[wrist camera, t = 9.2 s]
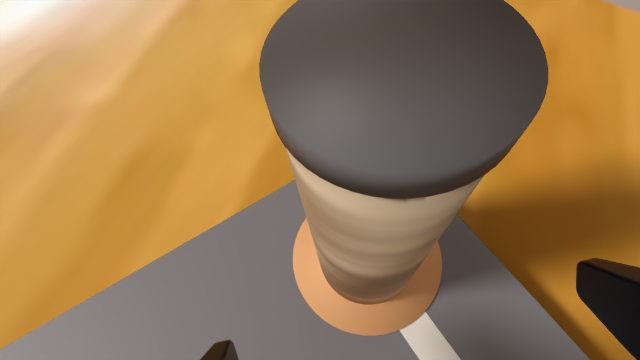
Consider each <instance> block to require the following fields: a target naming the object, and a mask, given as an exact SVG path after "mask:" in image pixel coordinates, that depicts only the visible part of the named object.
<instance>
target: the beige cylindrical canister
mask: <svg viewBox="0 0 640 360" xmlns="http://www.w3.org/2000/svg"><path fill="white" fill-rule="evenodd" d="M259 66H260V81H261V86H262V91H263V94H264V97H265V100H266V103H267V106H268V109H269V113H270V116H271V119H272V122H273V124H274V127H275V129H276V132H277V134H278V136H279V138H280V139H281V141H282V143H283V144H284V146H285V147H286V150H287V153H288V157H289V160H290V164H291V167H292V170H293V174H294V177H295V180H296V184H297V187H298V191H299V194H300V197H301V201H302V204H303V208H304V211H305V214H306V218H307V221H308V225H309V228H310V231H311V235H312V238H313V242H314V245H315V248H316V252H317V255H318V259H319V262H320V265H321V269H322V272H323V274H324V277H325V279H326V280H327V282H328V284H329V285H330V286H331V287H332V289H333V290H334V291H335V292H337V293H338V294H339V295H340V296H342V297H343V298H345V299H347V300H349V301H351V302H355V303H358V304H364V305H372V304H379V303H383V302H386V301H388V300H390V299H392V298H393V297H395V296H396V295H398V294H399V293H400V292H401V291H402V290H403V289H404V288H405V286H406V285H407V283H408V282H409V281H410V279H411V278H412V276H413V275H414V273H415V272H416V271H417V269H418V268H419V266H420V265H421V264H422V262H423V261H424V259H425V258H426V257H427V255H428V254H429V252H430V251H431V249H432V248H433V247H434V245H435V244H436V242H437V241H438V240H439V238H440V237H441V235H442V234H443V233H444V231H445V230H446V228H447V227H448V226H449V224H450V223H451V221H452V220H453V218H454V217H455V216H456V214H457V213H458V211H459V210H460V209H461V207H462V206H463V204H464V203H465V202H466V200H467V199H468V197H469V196H470V194H471V193H472V192H473V190H474V189H475V187H476V186H477V185H478V183H479V182H480V180H481V179H482V178H483V176H484V175H485V174H486V173H488V172H489V171H490V170H492V169H493V168H494V167H495V166H497V165H498V163H499V162H500V161H501V160H502V159H503V158H504V157H505V156H506V155H507V154H508V153H509V151H510V150H511V148H512V147H513V146H514V144H515V143H516V142H517V140H518V139H519V138H520V136H521V135H522V134H523V132H524V131H525V130H526V128H527V127H528V126H529V124H530V123H531V122H532V120H533V119H534V117H535V115H536V114H537V112H538V111H539V109H540V107H541V104H542V102H543V100H544V97H545V94H546V89H547V84H548V65H547V60H546V55H545V52H544V49H543V47H542V44H541V42H540V40H539V38H538V36H537V35H536V33H535V31H534V30H533V28H532V27H531V26H530V24H529V23H528V22H527V21H526V20H525V18H524V17H523V16H522V15H521V14H520V13H518V12H517V11H516V10H515V9H514V8H513V7H512V6H510V5H509V4H508V3H506V2H505V1H504V0H298V1H297V2H296V3H295V4H293V5H292V6H291V7H290V8H288V9H287V11H286V12H285V13H284V14H283V15H282V16H281V17H280V18H279V19H278V20H277V22H276V23H275V24H274V26H273V27H272V28H271V30H270V32H269V34H268V36H267V38H266V40H265V43H264V46H263V49H262V51H261V58H260V64H259Z"/></svg>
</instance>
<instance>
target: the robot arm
mask: <svg viewBox="0 0 640 360" xmlns="http://www.w3.org/2000/svg"><path fill="white" fill-rule="evenodd" d="M576 290H577V293H578V295H579V297H580V299H581V300H582V301H583V302H584V303H585V304H586V305H587V307H588V308H589V309H590V310H591V311H592V312H593V313H594V314H595V315H596V316H597V318H598V319H599V320H600V321H601V322H602V323H603V324H604V325H605V326H606V328H607V329H608V330H609V331H610V332H611V333H612V334H613V335H614V336H615V338H616V339H617V340H618V341H619V342H620V343H621V344H622V345H623V346H624V347H625V348H626V349H627V350H628V352H629V353H630V354H632V355H633V356H634V357H635V358H636V359H637V360H640V268H639V267H635V266H630V265H625V264H621V263H616V262H612V261H607V260H603V259H598V258H592V259H588V260H583V261H580V262H579V263H578V264H577V276H576ZM200 360H239V359H238V355H237V352H236V349H235V346H234V343H233V342H232V340H224V341H220V342H216V343H214V344H213V345H212V346H211V348H210V349H209V350H208V351H207V352H206V353H205V354H204V356H203V357H202V358H201V359H200Z"/></svg>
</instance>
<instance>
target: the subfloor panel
mask: <svg viewBox="0 0 640 360" xmlns="http://www.w3.org/2000/svg"><path fill="white" fill-rule="evenodd" d="M224 340H232V342H233V343H234V346H235V349H236V352H237V355H238V359H239V360H590V359H589V358H588V357H587V355H586V354H585V353H584V352H583V351H582V350H581V349H580V348H579V347H578V346H577V345H576V343H575V342H574V341H573V340H572V339H571V338H570V337H569V336H568V335H567V334H566V332H565V331H564V330H563V329H562V328H561V327H560V326H559V325H558V324H557V323H556V322H555V320H554V319H553V318H552V317H551V316H550V315H549V314H548V313H547V312H546V311H545V310H544V308H543V307H542V306H541V305H540V304H539V303H538V302H537V301H536V300H535V299H534V297H533V296H532V295H531V294H530V293H529V292H528V291H527V290H526V289H525V288H524V287H523V285H522V284H521V283H520V282H519V281H518V280H517V279H516V278H515V277H514V276H513V275H512V273H511V272H510V271H509V270H508V269H507V268H506V267H505V266H504V265H503V264H502V262H501V261H500V260H499V259H498V258H497V257H496V256H495V255H494V254H493V253H492V252H491V250H490V249H489V248H488V247H487V246H486V245H485V244H484V243H483V242H482V241H481V240H480V238H479V237H478V236H477V235H476V234H475V233H474V232H473V231H472V230H471V229H470V227H469V226H468V225H467V224H466V223H465V222H464V221H463V220H462V219H461V218H460V217H459V215H458V214H456V216H455V217H454V218H453V220H452V221H451V223H450V224H449V226H448V227H447V228H446V230H445V231H444V233H443V234H442V235H441V237H440V238H439V240H438V241H437V242H436V244H435V245H434V247H433V248H432V249H431V251H430V252H429V254H428V255H427V257H426V258H425V259H424V261H423V262H422V264H421V265H420V266H419V268H418V269H417V271H416V272H415V273H414V275H413V276H412V278H411V279H410V281H409V282H408V283H407V285H406V286H405V288H404V289H403V290H402V291H401V292H400V293H399V294H398V295H396V296H395V297H393V298H392V299H390V300H388V301H386V302H383V303H379V304H372V305H364V304H358V303H355V302H351V301H349V300H347V299H345V298H343V297H342V296H340V295H339V294H338V293H337V292H335V291H334V290H333V289H332V287H331V286H330V285H329V284H328V282H327V280H326V279H325V277H324V274H323V272H322V269H321V265H320V262H319V259H318V255H317V252H316V248H315V245H314V242H313V238H312V235H311V231H310V228H309V225H308V221H307V218H306V214H305V211H304V208H303V204H302V201H301V197H300V194H299V191H298V187H297V184H296V180H294V181H292V182H290V183H288V184H287V185H285V186H283V187H282V188H280V189H278V190H276V191H275V192H273V193H271V194H269V195H268V196H266V197H264V198H262V199H261V200H259V201H257V202H255V203H254V204H252V205H250V206H249V207H247V208H245V209H243V210H242V211H240V212H238V213H236V214H235V215H233V216H231V217H229V218H228V219H226V220H224V221H223V222H221V223H219V224H217V225H216V226H214V227H212V228H210V229H209V230H207V231H205V232H203V233H202V234H200V235H198V236H196V237H195V238H193V239H191V240H190V241H188V242H186V243H184V244H183V245H181V246H179V247H177V248H176V249H174V250H172V251H170V252H169V253H167V254H165V255H163V256H162V257H160V258H158V259H157V260H155V261H153V262H151V263H150V264H148V265H146V266H144V267H143V268H141V269H139V270H137V271H136V272H134V273H132V274H131V275H129V276H127V277H125V278H124V279H122V280H120V281H118V282H117V283H115V284H113V285H111V286H110V287H108V288H106V289H104V290H103V291H101V292H99V293H98V294H96V295H94V296H92V297H91V298H89V299H87V300H85V301H84V302H82V303H80V304H78V305H77V306H75V307H73V308H71V309H70V310H68V311H66V312H65V313H63V314H61V315H59V316H58V317H56V318H54V319H52V320H51V321H49V322H47V323H45V324H44V325H42V326H40V327H39V328H37V329H35V330H33V331H32V332H30V333H28V334H26V335H25V336H23V337H21V338H19V339H18V340H16V341H14V342H12V343H11V344H9V345H7V346H6V347H4V348H2V349H0V360H200V359H201V358H202V357H203V356H204V354H205V353H206V352H207V351H208V350H209V349H210V348H211V346H212V345H213V344H214V343H216V342H220V341H224Z"/></svg>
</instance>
